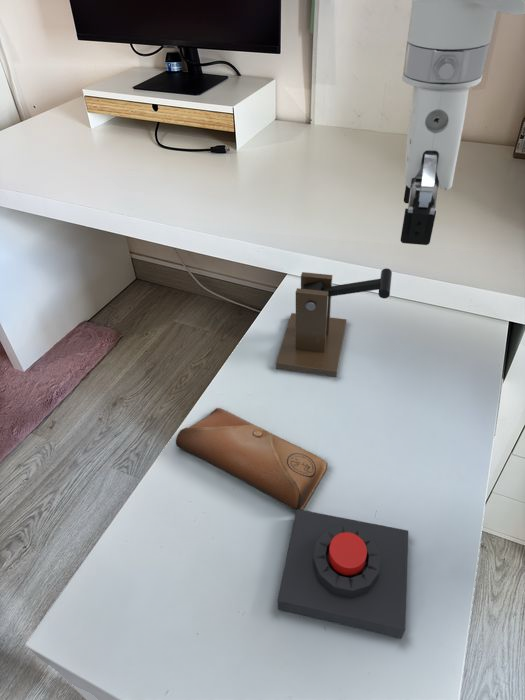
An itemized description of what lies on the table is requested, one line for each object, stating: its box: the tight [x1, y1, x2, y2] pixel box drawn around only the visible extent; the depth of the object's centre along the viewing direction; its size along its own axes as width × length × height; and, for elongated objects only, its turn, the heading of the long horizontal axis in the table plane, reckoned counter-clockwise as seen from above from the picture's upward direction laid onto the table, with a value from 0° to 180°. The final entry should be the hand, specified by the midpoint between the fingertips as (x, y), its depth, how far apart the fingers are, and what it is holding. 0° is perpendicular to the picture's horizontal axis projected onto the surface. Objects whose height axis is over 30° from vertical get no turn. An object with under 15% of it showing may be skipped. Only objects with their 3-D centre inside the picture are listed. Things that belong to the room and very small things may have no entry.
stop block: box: [277, 509, 409, 639], centre depth 51 cm, size 12×10×4 cm
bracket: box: [275, 271, 348, 377], centre depth 74 cm, size 9×12×12 cm
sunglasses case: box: [175, 407, 328, 511], centre depth 62 cm, size 18×7×7 cm
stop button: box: [329, 532, 367, 576], centre depth 49 cm, size 4×4×2 cm
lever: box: [303, 267, 393, 299], centre depth 70 cm, size 12×5×2 cm, turn 76°
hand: (415, 221), depth 61 cm, fingers open, 9 cm apart
